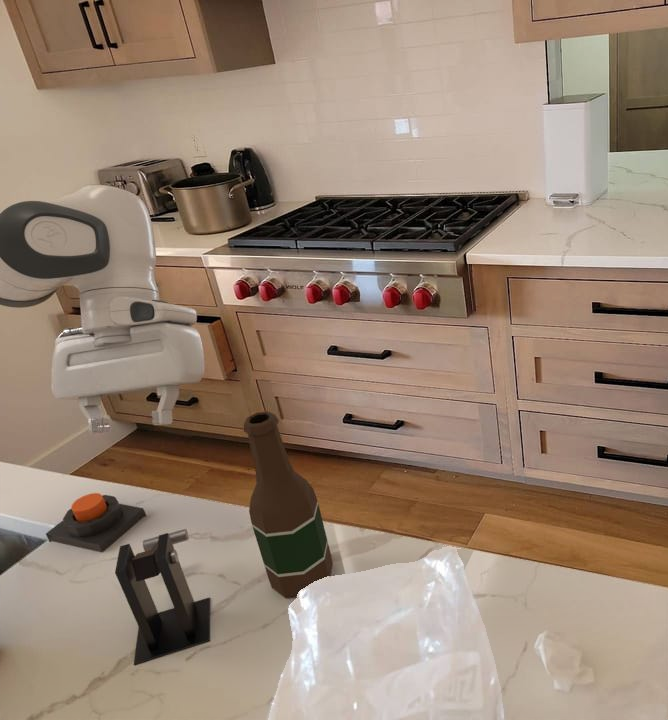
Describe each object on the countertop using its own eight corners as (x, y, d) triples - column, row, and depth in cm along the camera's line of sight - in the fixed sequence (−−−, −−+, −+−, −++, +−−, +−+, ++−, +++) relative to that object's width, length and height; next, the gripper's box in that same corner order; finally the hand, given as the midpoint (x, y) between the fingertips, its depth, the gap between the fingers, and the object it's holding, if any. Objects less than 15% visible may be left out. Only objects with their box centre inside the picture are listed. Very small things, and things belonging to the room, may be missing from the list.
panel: (148, 520, 99) (139, 498, 97) (104, 558, 92) (94, 535, 90) (96, 509, 102) (87, 488, 100) (51, 545, 95) (40, 523, 94)
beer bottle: (314, 611, 80) (268, 441, 70) (259, 598, 83) (206, 433, 72) (346, 564, 87) (308, 403, 76) (294, 554, 89) (250, 397, 79)
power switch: (142, 625, 81) (106, 542, 75) (212, 603, 83) (182, 521, 77) (136, 671, 75) (97, 585, 69) (212, 647, 77) (180, 561, 71)
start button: (113, 506, 96) (109, 495, 96) (90, 524, 93) (86, 513, 92) (92, 502, 98) (87, 491, 97) (69, 519, 94) (64, 508, 94)
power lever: (147, 554, 84) (143, 535, 84) (190, 542, 86) (185, 524, 86) (122, 586, 72) (116, 564, 72) (172, 571, 73) (166, 550, 73)
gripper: (33, 327, 84) (41, 439, 83) (172, 302, 79) (182, 421, 78) (76, 331, 90) (83, 435, 89) (207, 308, 85) (217, 419, 84)
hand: (130, 429), depth 83 cm, fingers open, 8 cm apart
